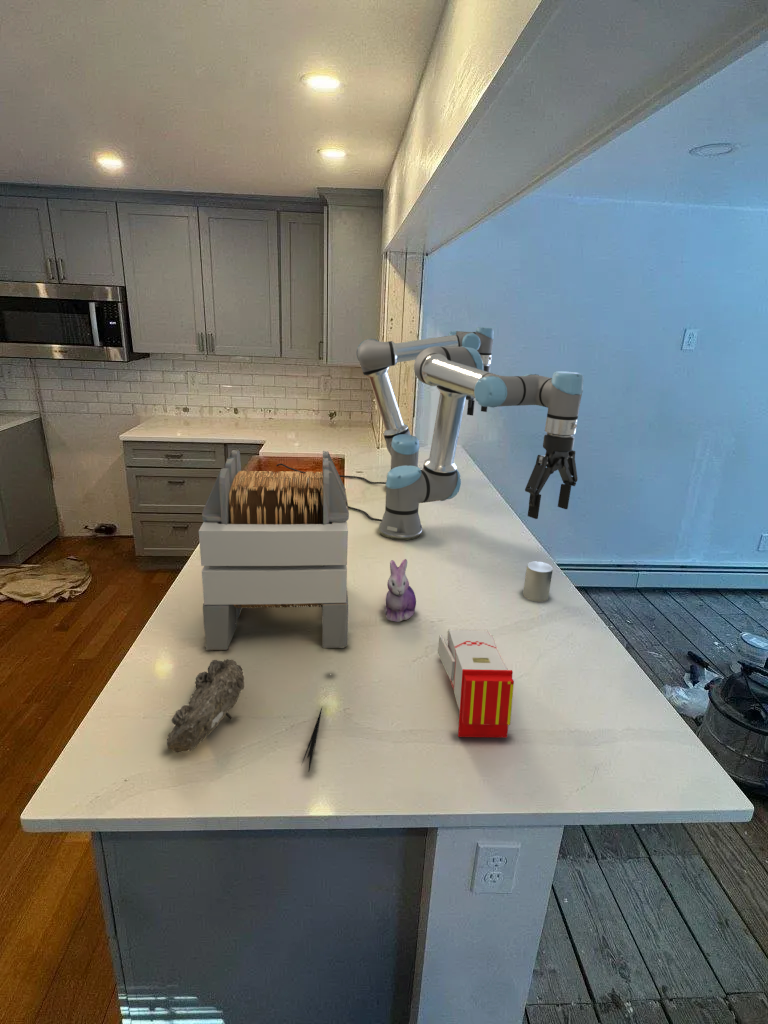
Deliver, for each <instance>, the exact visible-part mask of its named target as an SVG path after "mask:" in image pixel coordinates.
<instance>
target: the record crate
mask: <svg viewBox="0 0 768 1024" xmlns="http://www.w3.org/2000/svg"><path fill="white" fill-rule="evenodd" d="M241 463H242V462H241V453H240V449H238V450H236V449H232V450H231V452H230V454H229V456H228V457H227V458H226V461H225V463H224V465H223V467H222V468H220V471H219V473H218V475H217V478H216V480H215V482H214V484H213V487H212V489H211V491H210V494H209V496H208V498H207V500H206V503H205V505H204V507H203V509H202V512H201V519H202V521H203V522H202V524H201V526H200V528H199V529H198V537H199V538H198V540H199V555H200V566H201V567H203V568H202V570H201V580H202V597H203V603H202V617H203V618H202V619H203V629H204V638H205V646H204V648H205V651H213V650H216V651H217V650H224V651H226V650H228V649H229V647H230V645H231V642H232V639H233V638H234V635H235V632H236V630H237V627H238V620H237V619H239V618H240V617H241V612H242V609H244V608H245V609H251V608H252V609H261V608H263V609H266V608H267V609H268V608H278V609H279V608H297V607H298V608H311V607H312V608H316V607H318V608H321V616H322V619H321V620H322V621H321V622H322V625H321V626H322V627H321V629H322V630H321V631H322V635H321V636H322V637H321V639H322V648H323V649H324V648H325V649H329V648H330V649H331V648H332V649H333V648H336V649H337V648H338V649H345V648H346V647H347V646H348V645H349V644H348V643H349V642H348V641H349V597H348V587H347V586H348V585H347V584H348V566H347V565H348V548H349V547H348V546H349V544H348V543H349V542H348V541H349V528H348V522H347V521H348V520H349V518H350V510H349V508H348V506H349V505H348V498H347V491H346V490H347V489H346V487H345V485H344V482H343V481H342V477H340V476H339V475H340V474H339V472H338V469H337V467H336V466H335V463H334V460H333V458H332V457H331V454H330V452H329V450H328V451H327V450H323V451H322V471H315V472H314V471H305V472H306V473H305V474H304V473H300V472H297V471H294V470H292V471H287V470H286V471H284V470H282V471H276V472H275V471H272V470H269V471H267V470H259V471H258V470H249V471H248V470H242V466H241ZM314 473H315V474H314Z"/></svg>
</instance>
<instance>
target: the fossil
mask: <svg viewBox="0 0 768 1024" xmlns="http://www.w3.org/2000/svg"><path fill="white" fill-rule="evenodd" d="M243 670H244V669H243V667H242V665H240V664H237V662H236V661H235V660H234V659H232V658H231V659H227V658H226V659H224V660H223V661H222V660H217V659H212V660H211V661H210V663H209V665H208V666H207V671H201V672H199V673H198V674H197V675H196V676H195V680H194V684H195V685H194V687H195V689H194V690H193V693H192V694H191V697H190V698H189V700H188V704H184V705H182V706H181V707H180V709H177V710H176V711H175V713H174V715H173V716H172V718H171V723H172V724H173V727H172V730H171V731H170V732H168V734H167V738H166V741H167V742H166V745H167V749H168V750H169V751H173V752H174V753H176V754H178V753H182V752H188V751H189V752H192V751H193V750H195V748H196V747H197V746H199V744H200V743H201V742H203V741H204V740H205V739H206V738H207V737H208V736H209V735H210V734H211V733H212V732H214V730H215V729H217V727H218V726H219V724H220V722H221V721H222V720H223V719H224V718H225V716H226V717H227V719H229V720H233V717H232V715H230V714H229V710H230V709H231V708H234V706H235V704H236V703H237V702H238V699H239V697H240V695H241V693H242V691H243V690H245V689H244V688H245V675H244V671H243Z"/></svg>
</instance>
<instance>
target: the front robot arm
mask: <svg viewBox="0 0 768 1024" xmlns="http://www.w3.org/2000/svg"><path fill="white" fill-rule="evenodd" d="M413 370H414V371H413V372H414V375H415V376H416V378H417V379H418V381H419V382H421V383H423V384H425V385H428V386H431V387H436V389H437V390H438V391H439V398H438V403H437V409H436V415H435V420H434V421H435V422H434V427H433V433H432V438H431V445H430V451H429V457H428V458H426V459H425V460H424V461H423V468H422V469H421V467H419V466H418V467H417V466H411V465H410V466H407V465H405V466H399V467H395V468H393V469H391V468H390V470H389V471H388V472H387V475H386V479H385V482H386V484H385V504H384V505H385V507H384V508H385V509H384V513H383V515H382V519H381V518H376V517H372V516H370V515H369V513H368V512H367V511H365V510H362V509H360V508H356V507H354V506H353V507H352V506H349V505H348V510H349V509H350V510H352V511H357V512H360V513H362V514H363V515H365V516H366V517H367V518H368V519H369V520H372V521H376V522H379V525H378V533H379V534H380V535H381V536H382V537H385V538H387V539H389V540H395V541H410V540H415V539H418V538H420V537H421V536H422V535H423V525H422V524H421V518H420V515H419V507H420V506H419V505H420V504H423V503H431V502H444V501H447V500H451V499H453V498H455V497H456V496H457V495H458V493H459V492H460V489H461V485H462V479H461V473H460V471H459V470H458V466H457V464H456V463H455V456H456V452H457V445H458V441H459V436H460V430H461V425H462V420H463V414H464V408H465V404H466V396H470V397H473V398H474V400H475V401H476V402H477V404H478V405H479V406H480V407H481V406H484V407H487V408H498V407H499V408H500V407H518V406H519V407H520V406H538V407H543V408H547V413H546V419H545V425H544V432H545V434H544V435H543V442H542V448H543V449H545V454H544V455H542V454H538V455H537V456H536V462H535V464H534V466H533V469H532V471H531V474H530V476H529V479H528V481H527V483H526V485H525V488H524V491H525V492H526V493H529V500H528V508H527V509H528V511H527V517H529V518H532V519H534V520H538V519H539V513H540V506H541V499H542V494H541V491H542V490H543V488H544V487H545V485H546V483H547V482H548V480H549V478H550V476H551V475H553V474H554V473H555V472H557V471H558V473H559V475H560V478H561V481H562V483H561V484H560V487H559V488H560V489H559V495H558V500H557V507H558V508H561V509H563V510H569V504H570V498H571V497H570V496H571V491H572V487H576V485H577V482H578V472H577V466H576V451H575V450H574V445H575V439H576V437H575V436H574V435H575V434H576V432H577V427H578V418H579V412H580V406H581V402H582V401H581V400H582V397H583V396H582V395H583V392H584V375H583V374H581V373H580V372H574V371H565V370H564V371H561V370H559V371H555V372H553V374H552V377H549V376H544V375H539V374H537V373H535V374H532V373H526V374H524V375H514V376H513V375H499V374H496V373H493V372H491V371H490V372H487V371H483V361H482V359H481V356H480V354H479V353H478V351H477V350H475V349H474V348H469V347H463V346H461V347H430V348H427V349H425V350H423V351H422V352H421V353H420V354H419V355H418V356H417V358H416V360H414V364H413Z"/></svg>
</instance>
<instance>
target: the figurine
mask: <svg viewBox="0 0 768 1024" xmlns="http://www.w3.org/2000/svg"><path fill="white" fill-rule="evenodd" d="M407 567H408V559H406V558H404V559H403V560H402V561H401V563H400V565H399V566H398V565H397V563H396V562H395V561H394V560H393V559H391V560H390V561H389V570H390V576H389V578H388V579H387V589H388V591H387V592H386V594H385V595H386V596H385V607H384V615H385V616H386V620H387V621H391V622H395V623H400V622H402V621H406V620H409V619H410V618H411V617H413V616H414V615H415V610H416V606H417V597H416V593H415V591H414V590H413V587H411V586H410V582H409V579H408V577H407V574H406V571H407Z"/></svg>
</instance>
